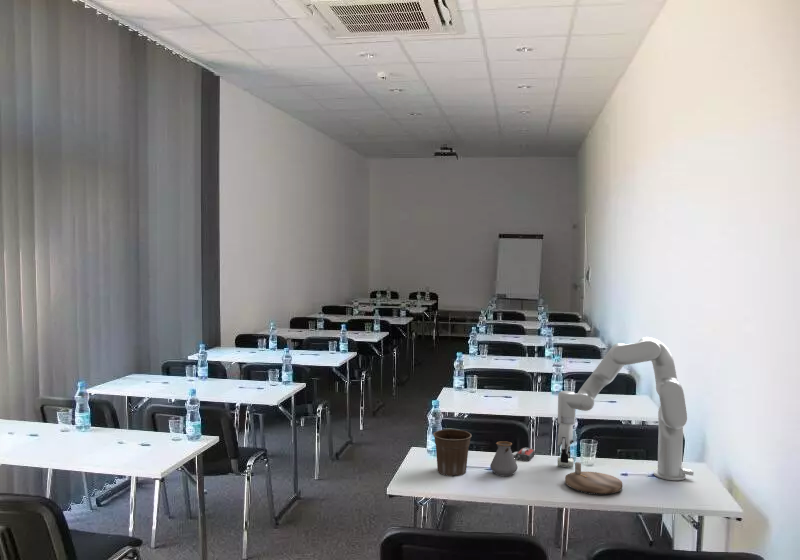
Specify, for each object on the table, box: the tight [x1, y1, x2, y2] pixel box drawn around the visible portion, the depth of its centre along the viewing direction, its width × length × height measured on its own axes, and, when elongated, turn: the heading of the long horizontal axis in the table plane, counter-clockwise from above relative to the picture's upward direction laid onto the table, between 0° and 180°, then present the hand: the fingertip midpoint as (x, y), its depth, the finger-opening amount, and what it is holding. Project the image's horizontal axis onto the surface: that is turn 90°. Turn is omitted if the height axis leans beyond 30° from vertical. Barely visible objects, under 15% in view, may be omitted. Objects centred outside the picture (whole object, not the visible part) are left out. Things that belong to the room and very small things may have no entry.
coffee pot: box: [490, 440, 518, 477], centre depth 272 cm, size 21×12×15 cm, turn 176°
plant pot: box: [433, 428, 472, 477], centre depth 277 cm, size 16×16×16 cm
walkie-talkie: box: [512, 447, 536, 462], centre depth 298 cm, size 9×4×20 cm
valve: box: [557, 439, 575, 468], centre depth 287 cm, size 7×7×12 cm
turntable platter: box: [564, 461, 623, 495], centre depth 262 cm, size 22×22×6 cm
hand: (565, 460), depth 287 cm, fingers closed on valve, 3 cm apart
